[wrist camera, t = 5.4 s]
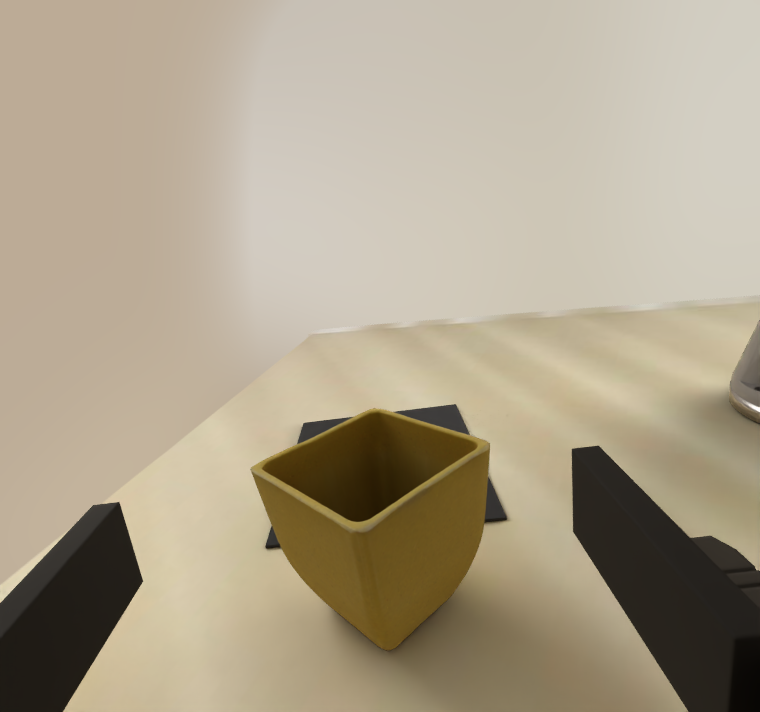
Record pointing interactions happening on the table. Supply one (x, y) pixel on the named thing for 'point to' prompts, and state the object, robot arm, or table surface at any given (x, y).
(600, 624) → the table surface
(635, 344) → the table surface
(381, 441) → the flower pot
